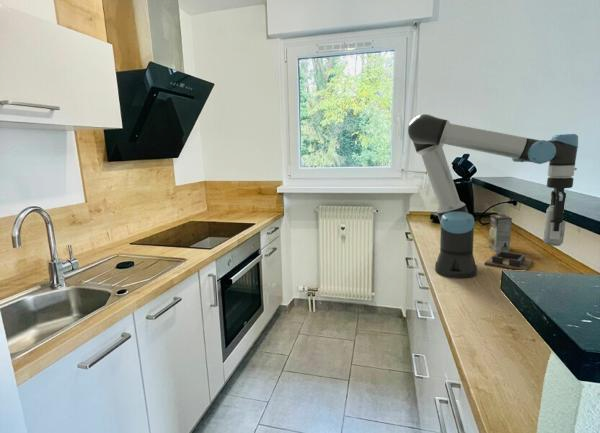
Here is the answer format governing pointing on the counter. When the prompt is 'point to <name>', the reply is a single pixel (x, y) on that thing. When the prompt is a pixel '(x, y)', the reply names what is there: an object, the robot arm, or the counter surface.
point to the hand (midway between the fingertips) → (553, 236)
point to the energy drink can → (548, 229)
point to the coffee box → (500, 232)
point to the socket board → (509, 261)
